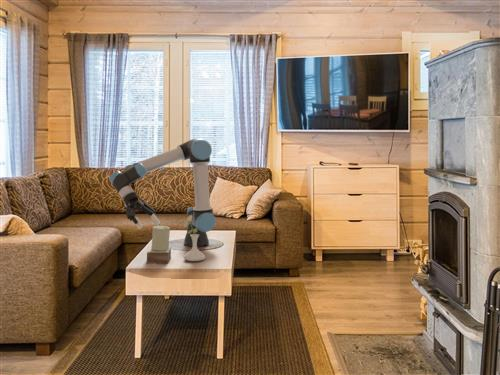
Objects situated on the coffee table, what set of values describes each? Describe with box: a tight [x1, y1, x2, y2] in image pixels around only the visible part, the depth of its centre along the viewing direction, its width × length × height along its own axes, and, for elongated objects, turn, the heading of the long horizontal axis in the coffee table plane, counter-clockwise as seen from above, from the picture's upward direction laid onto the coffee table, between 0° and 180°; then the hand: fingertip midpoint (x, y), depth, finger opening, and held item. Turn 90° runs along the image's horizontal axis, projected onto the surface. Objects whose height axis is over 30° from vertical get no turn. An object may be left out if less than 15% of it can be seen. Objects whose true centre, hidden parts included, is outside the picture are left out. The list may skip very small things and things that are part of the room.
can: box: [150, 225, 171, 251], centre depth 264 cm, size 9×9×12 cm
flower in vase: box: [182, 215, 206, 262], centre depth 265 cm, size 13×11×25 cm
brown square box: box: [146, 247, 172, 265], centre depth 264 cm, size 11×11×6 cm
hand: (150, 226), depth 265 cm, fingers open, 13 cm apart
